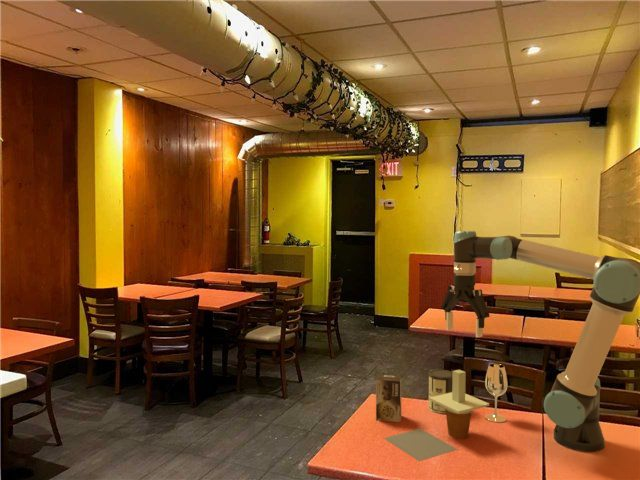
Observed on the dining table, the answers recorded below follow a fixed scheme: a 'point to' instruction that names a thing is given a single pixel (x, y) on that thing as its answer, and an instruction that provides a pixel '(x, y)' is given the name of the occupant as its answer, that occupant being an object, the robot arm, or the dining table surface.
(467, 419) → the disposable coffee cup
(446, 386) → the coffee can
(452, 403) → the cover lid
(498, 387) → the wineglass
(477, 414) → the dining table surface
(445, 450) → the rubber mat
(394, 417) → the coffee box
